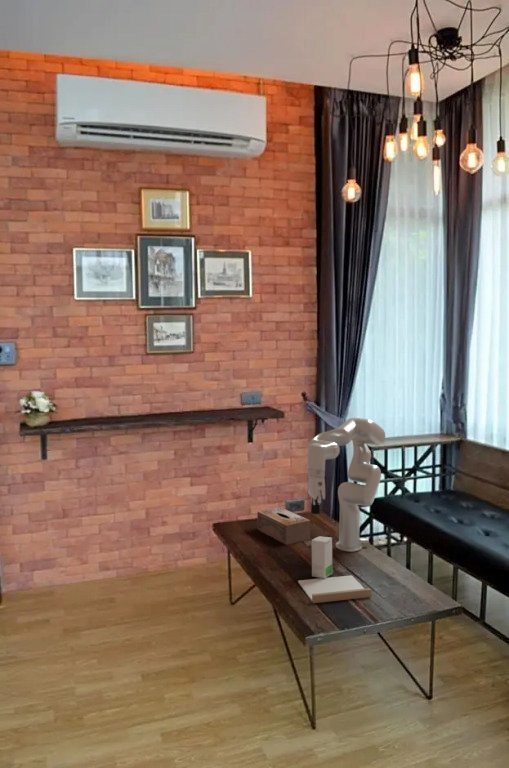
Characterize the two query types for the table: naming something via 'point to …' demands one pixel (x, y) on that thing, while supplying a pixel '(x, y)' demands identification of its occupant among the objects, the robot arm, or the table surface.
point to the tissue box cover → (283, 525)
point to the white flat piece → (334, 589)
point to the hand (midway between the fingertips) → (315, 513)
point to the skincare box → (321, 557)
